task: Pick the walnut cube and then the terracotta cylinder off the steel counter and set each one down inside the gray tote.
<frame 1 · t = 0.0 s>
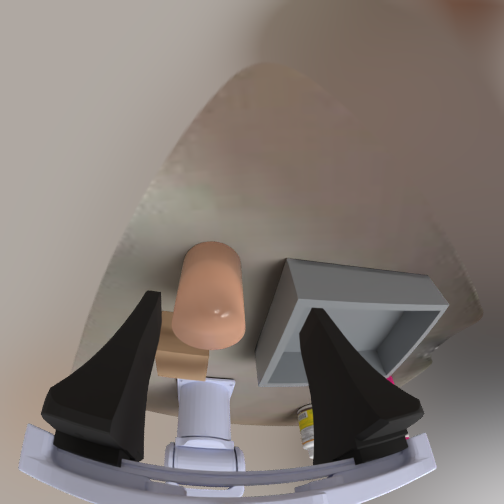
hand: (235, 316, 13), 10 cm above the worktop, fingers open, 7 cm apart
terracotta cylinder: (212, 266, 23), on the worktop
gray tote: (344, 316, 29), on the worktop
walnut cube: (185, 328, 28), on the worktop
supplement bottle: (311, 407, 44), on the worktop
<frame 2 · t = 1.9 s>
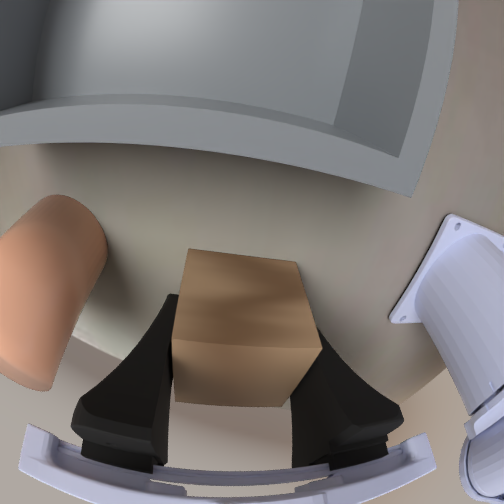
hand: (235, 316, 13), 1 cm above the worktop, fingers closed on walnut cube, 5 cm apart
terracotta cylinder: (65, 240, 11), on the worktop
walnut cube: (234, 295, 14), on the worktop, touching gripper
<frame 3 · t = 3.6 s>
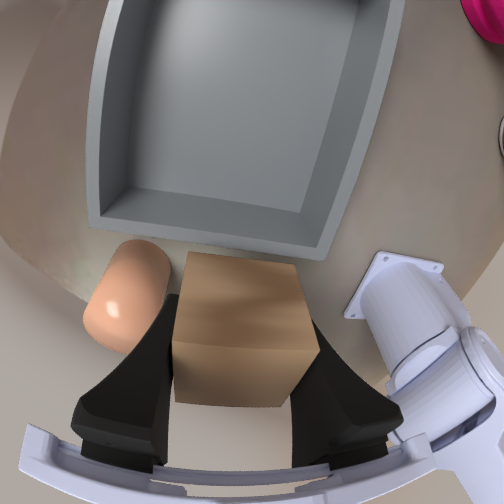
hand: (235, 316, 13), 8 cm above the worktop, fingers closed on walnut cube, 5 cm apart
terracotta cylinder: (141, 265, 21), on the worktop
gray tote: (236, 77, 14), on the worktop
pepper mill: (479, 12, 8), on the worktop
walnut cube: (234, 297, 14), point 7 cm above the worktop, touching gripper
when the fingers open (5 cm above the worktop, at t = 5.2 s): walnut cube drops 3 cm, resting on gray tote.
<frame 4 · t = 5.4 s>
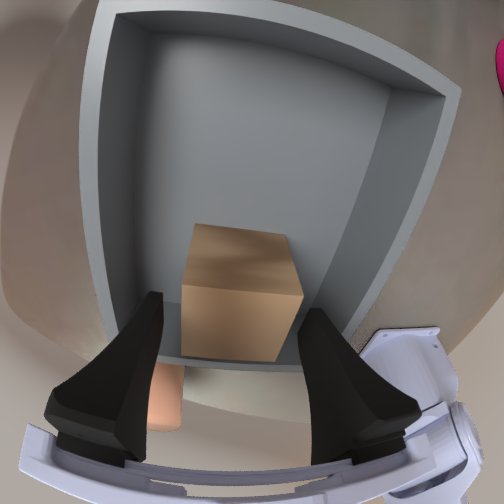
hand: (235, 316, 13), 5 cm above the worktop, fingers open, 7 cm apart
terracotta cylinder: (158, 349, 22), on the worktop
gray tote: (245, 195, 14), on the worktop
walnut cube: (233, 265, 16), point 1 cm above the worktop, touching gray tote
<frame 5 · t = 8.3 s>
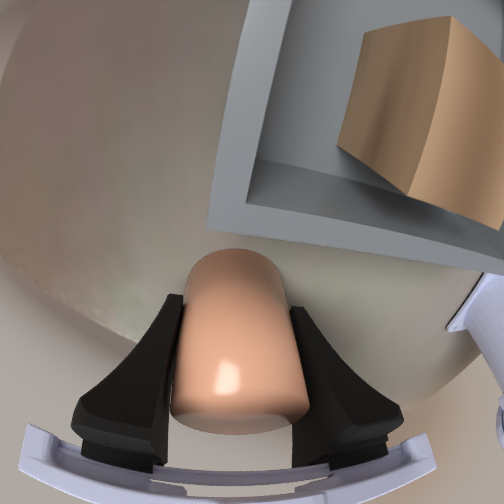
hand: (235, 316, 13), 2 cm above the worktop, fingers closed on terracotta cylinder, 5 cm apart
terracotta cylinder: (234, 288, 14), on the worktop, touching gripper
gray tote: (412, 28, 7), on the worktop
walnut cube: (402, 108, 9), point 1 cm above the worktop, touching gray tote
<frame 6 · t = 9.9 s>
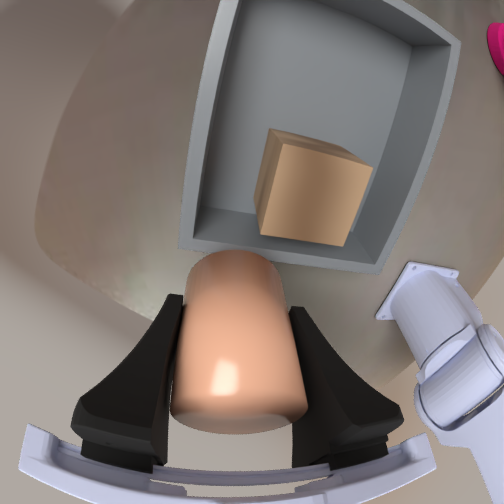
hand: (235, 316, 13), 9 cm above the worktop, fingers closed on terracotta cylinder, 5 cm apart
terracotta cylinder: (233, 289, 14), point 7 cm above the worktop, touching gripper
gray tote: (310, 111, 16), on the worktop
pepper mill: (501, 50, 11), on the worktop
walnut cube: (296, 170, 18), point 1 cm above the worktop, touching gray tote
when the fingers open (5 cm above the worktop, at t = 12.0 s): terracotta cylinder drops 2 cm, resting on gray tote.
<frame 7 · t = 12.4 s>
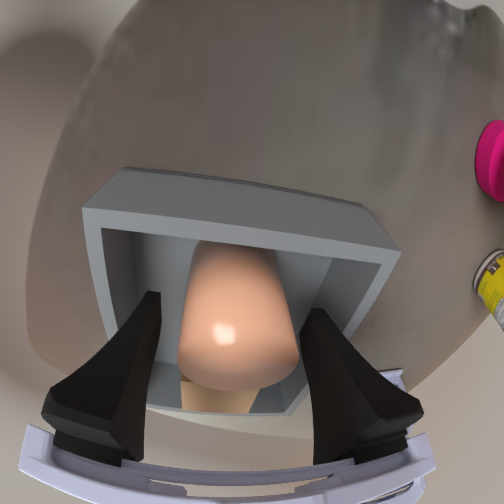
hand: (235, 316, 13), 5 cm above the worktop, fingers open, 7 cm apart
terracotta cylinder: (233, 263, 16), point 1 cm above the worktop, touching gray tote
gray tote: (224, 302, 19), on the worktop
pepper mill: (494, 156, 13), on the worktop
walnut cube: (218, 344, 21), point 1 cm above the worktop, touching gray tote
supplement bottle: (487, 268, 20), on the worktop
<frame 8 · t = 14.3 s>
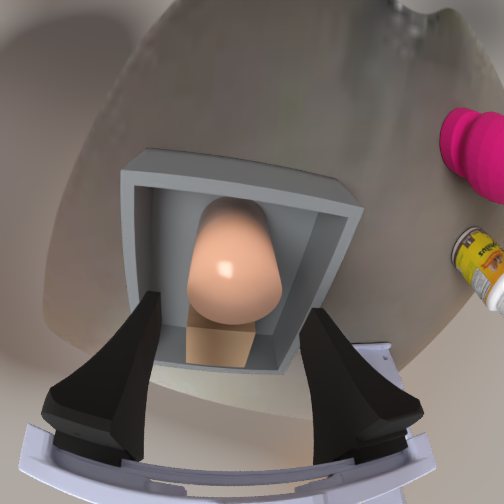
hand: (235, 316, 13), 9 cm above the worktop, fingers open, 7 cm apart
terracotta cylinder: (233, 226, 20), point 1 cm above the worktop, touching gray tote
gray tote: (225, 263, 22), on the worktop
pepper mill: (460, 139, 17), on the worktop
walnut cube: (218, 304, 24), point 1 cm above the worktop, touching gray tote
supplement bottle: (465, 244, 24), on the worktop
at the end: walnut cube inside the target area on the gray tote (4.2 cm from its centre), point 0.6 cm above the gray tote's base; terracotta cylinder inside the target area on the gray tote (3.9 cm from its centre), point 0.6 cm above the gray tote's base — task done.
